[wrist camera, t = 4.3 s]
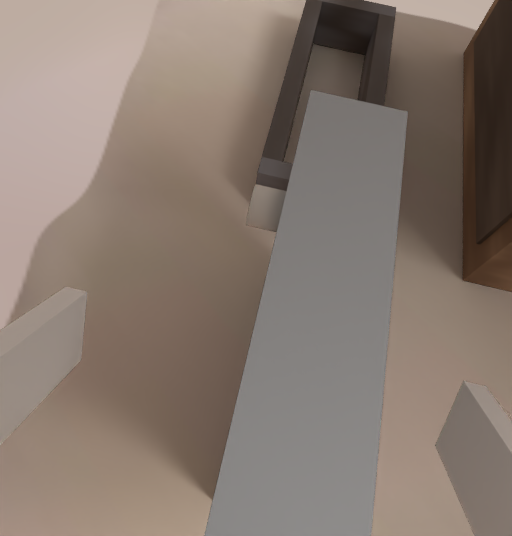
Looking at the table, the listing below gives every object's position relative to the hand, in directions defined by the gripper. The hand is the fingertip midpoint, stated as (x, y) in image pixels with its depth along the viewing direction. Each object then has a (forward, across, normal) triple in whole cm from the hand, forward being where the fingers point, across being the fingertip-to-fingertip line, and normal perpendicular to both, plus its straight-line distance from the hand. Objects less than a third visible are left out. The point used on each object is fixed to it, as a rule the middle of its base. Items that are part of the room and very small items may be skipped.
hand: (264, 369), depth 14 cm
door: (+7, +1, -5) cm, 9 cm away
